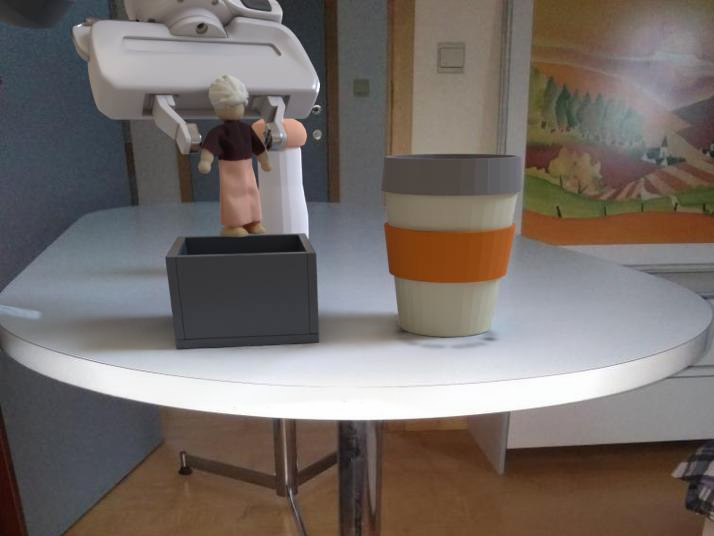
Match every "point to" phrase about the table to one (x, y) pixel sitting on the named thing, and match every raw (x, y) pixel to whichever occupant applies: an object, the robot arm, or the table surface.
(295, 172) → the pepper shaker
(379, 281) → the table surface
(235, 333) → the dark grey storage bin
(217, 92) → the grandmother figurine
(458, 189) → the reusable coffee cup
